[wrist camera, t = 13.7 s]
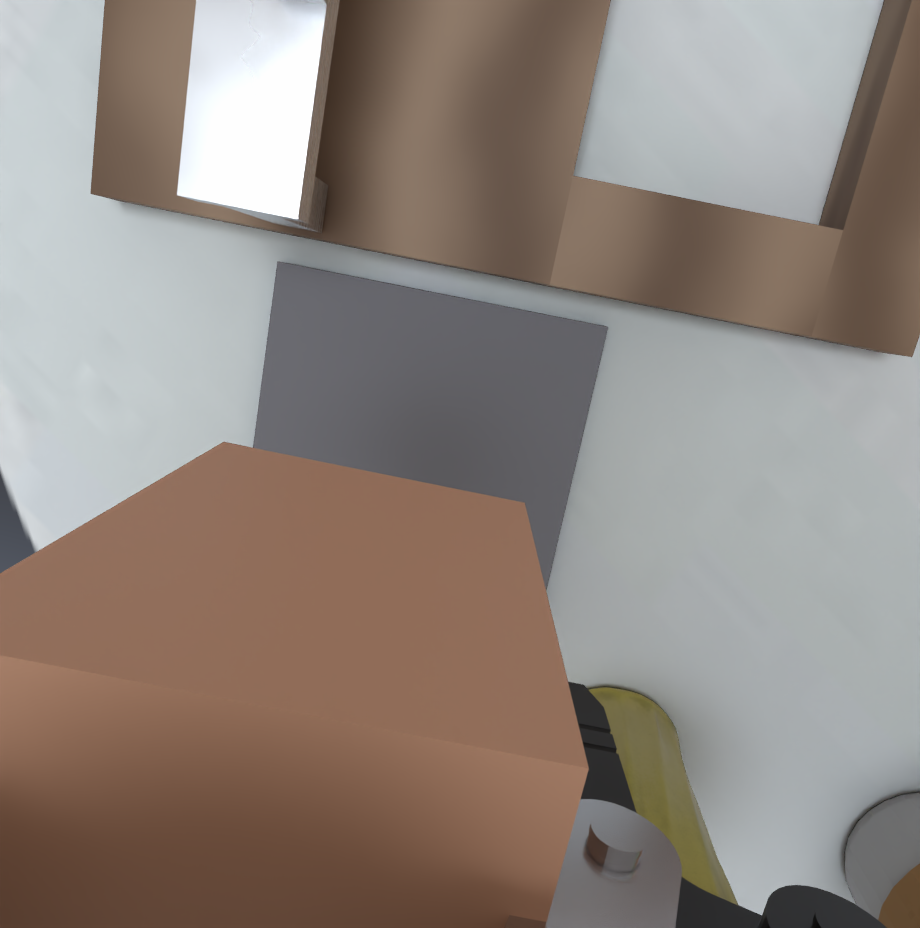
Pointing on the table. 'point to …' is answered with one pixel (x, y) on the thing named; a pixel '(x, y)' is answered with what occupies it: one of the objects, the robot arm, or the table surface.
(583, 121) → the puzzle board
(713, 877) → the vase
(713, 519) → the table surface
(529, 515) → the charcoal mat
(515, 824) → the terracotta block
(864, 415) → the table surface
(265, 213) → the metal gate
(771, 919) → the robot arm
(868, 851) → the coffee cup
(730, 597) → the table surface
